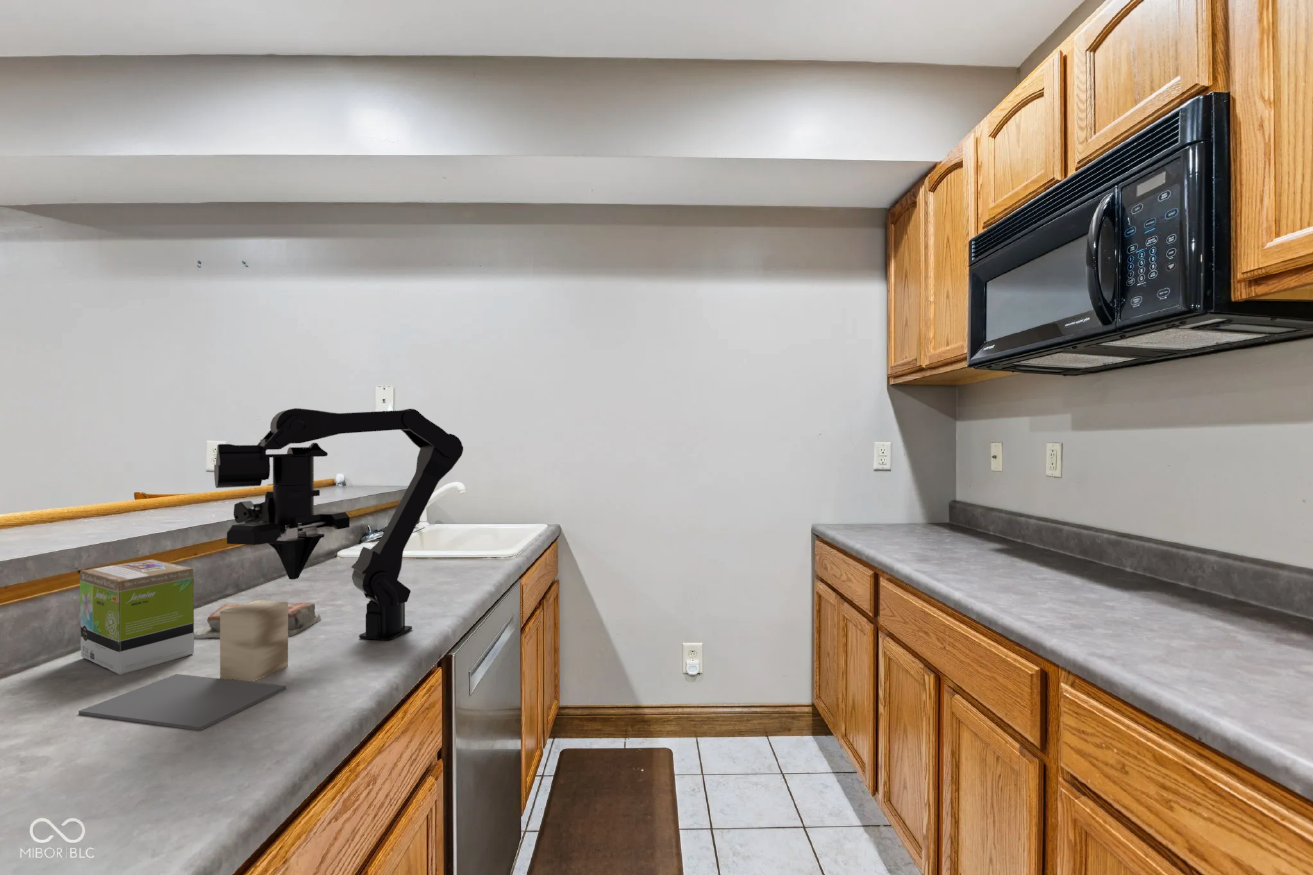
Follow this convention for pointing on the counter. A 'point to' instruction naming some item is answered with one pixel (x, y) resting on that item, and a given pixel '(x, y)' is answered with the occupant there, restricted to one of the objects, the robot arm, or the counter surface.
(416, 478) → the robot arm
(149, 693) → the rubber mat
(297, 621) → the packaged product
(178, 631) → the tea box
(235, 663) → the birch block
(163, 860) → the counter surface
